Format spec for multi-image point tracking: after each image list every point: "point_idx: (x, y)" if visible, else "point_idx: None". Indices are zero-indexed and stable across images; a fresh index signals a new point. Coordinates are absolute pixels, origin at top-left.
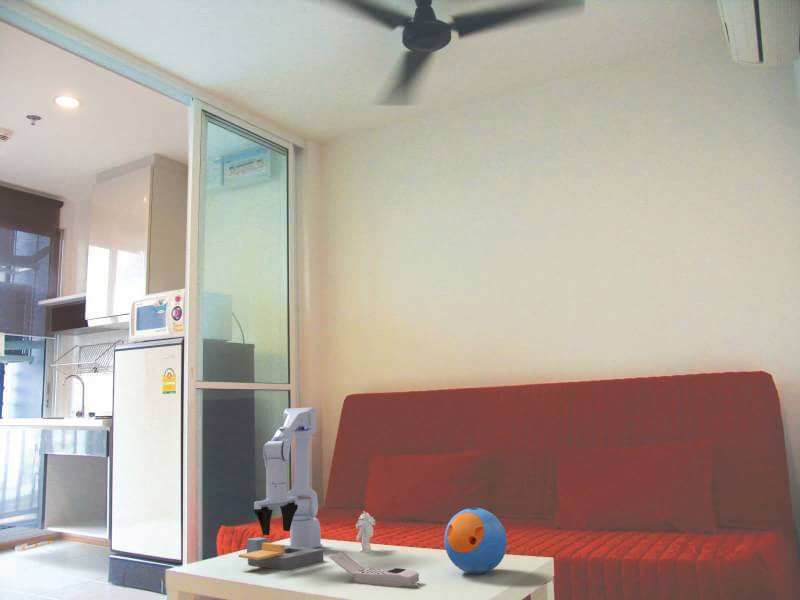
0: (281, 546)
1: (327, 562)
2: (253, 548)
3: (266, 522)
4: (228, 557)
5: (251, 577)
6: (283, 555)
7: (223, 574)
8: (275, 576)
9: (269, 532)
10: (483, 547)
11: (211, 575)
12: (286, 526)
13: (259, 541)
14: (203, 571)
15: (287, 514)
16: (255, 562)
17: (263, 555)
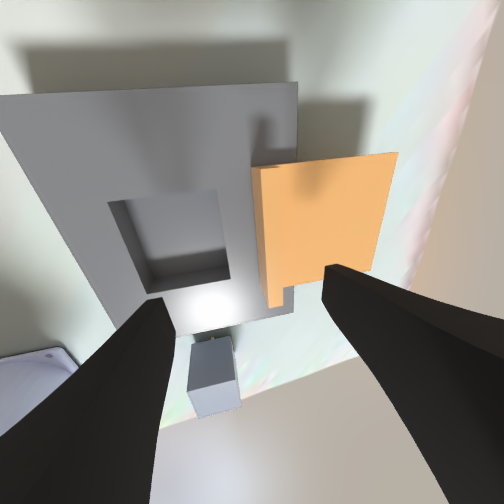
0: (279, 169)
1: (30, 43)
2: (234, 363)
3: (437, 304)
4: (254, 381)
5: (408, 115)
6: (256, 166)
7: (391, 233)
8: (377, 24)
9: (335, 269)
10: None
11: (406, 247)
12: (160, 335)
13: (221, 377)
14: None
15: (109, 464)
16: None
17: (356, 177)
